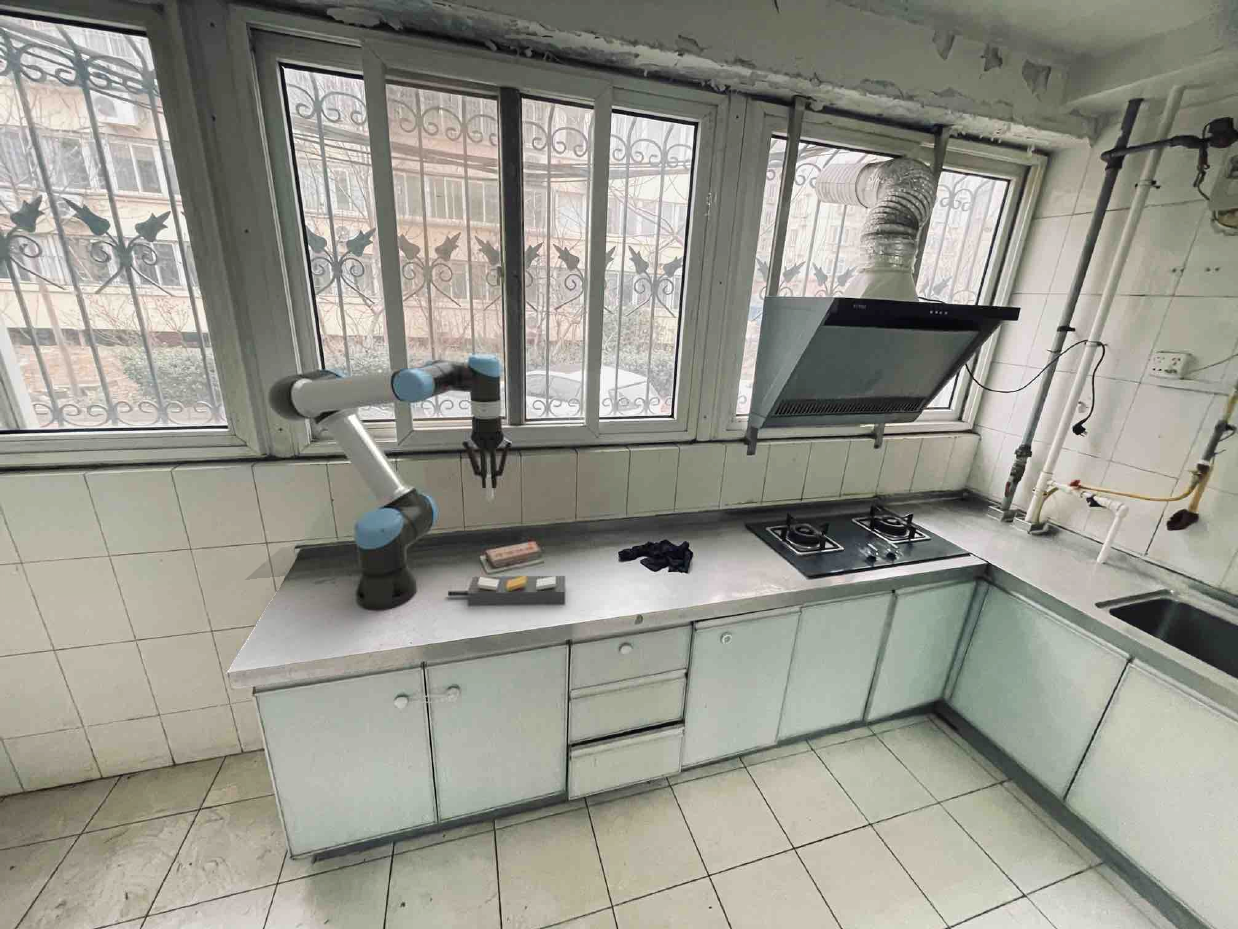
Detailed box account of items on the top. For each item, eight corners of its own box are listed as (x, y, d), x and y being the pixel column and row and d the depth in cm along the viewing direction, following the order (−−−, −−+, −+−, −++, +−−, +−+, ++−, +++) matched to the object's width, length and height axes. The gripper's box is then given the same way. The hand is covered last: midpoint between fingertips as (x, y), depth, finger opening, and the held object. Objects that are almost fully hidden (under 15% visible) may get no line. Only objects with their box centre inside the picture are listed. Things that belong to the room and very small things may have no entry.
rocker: (536, 589, 133) (536, 586, 133) (537, 582, 137) (537, 579, 137) (555, 586, 134) (555, 583, 133) (556, 579, 137) (555, 576, 137)
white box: (477, 587, 132) (477, 584, 131) (479, 579, 135) (480, 576, 135) (496, 590, 132) (497, 587, 132) (498, 582, 136) (499, 579, 135)
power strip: (445, 606, 132) (444, 592, 130) (452, 589, 139) (451, 576, 138) (564, 604, 135) (564, 591, 134) (565, 587, 143) (565, 575, 141)
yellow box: (507, 591, 133) (506, 588, 132) (508, 583, 136) (507, 580, 136) (525, 585, 133) (524, 582, 132) (526, 578, 136) (525, 575, 136)
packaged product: (533, 536, 162) (544, 550, 154) (534, 549, 164) (544, 563, 155) (478, 547, 154) (486, 562, 145) (479, 560, 155) (487, 576, 147)
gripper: (457, 418, 123) (463, 504, 131) (510, 419, 125) (512, 504, 133) (463, 411, 130) (468, 493, 138) (513, 412, 132) (515, 493, 140)
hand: (490, 498), depth 135 cm, fingers closed
